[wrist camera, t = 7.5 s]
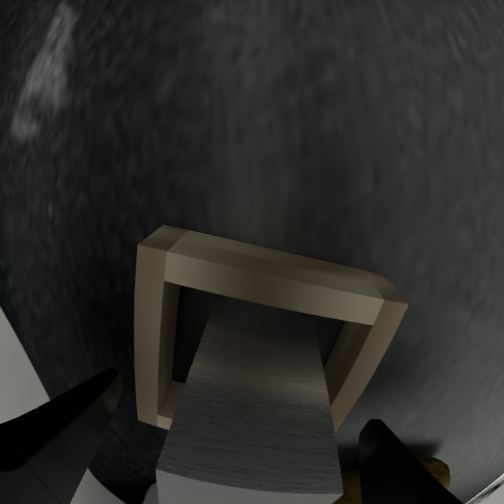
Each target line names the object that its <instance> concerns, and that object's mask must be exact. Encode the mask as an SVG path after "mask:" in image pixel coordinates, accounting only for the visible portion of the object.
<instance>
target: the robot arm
mask: <svg viewBox="0 0 504 504" xmlns="http://www.w3.org/2000/svg"><path fill="white" fill-rule="evenodd" d="M121 392H122V377H121V372H120V371H118V370H116V369H113V368H108V369H106V370H105V371H103V372H101V373H99V374H98V375H96V376H94V377H92V378H90V379H89V380H87V381H85V382H83V383H81V384H80V385H78V386H76V387H74V388H72V389H70V390H69V391H67V392H65V393H63V394H61V395H59V396H58V397H56V398H54V399H52V400H50V401H48V402H47V403H45V404H43V405H41V406H39V407H37V409H36V408H35V409H34V410H32V411H29V412H28V413H25V414H23V415H21V416H19V417H17V418H15V419H12V420H10V421H7V422H4V423H2V424H0V504H70V503H71V500H72V498H73V496H74V494H75V492H76V490H77V488H78V486H79V484H80V482H81V480H82V477H83V476H84V474H85V472H86V470H87V467H88V465H89V463H90V462H91V460H92V458H93V456H94V454H95V452H96V450H97V448H98V446H99V444H100V442H101V440H102V438H103V436H104V434H105V432H106V430H107V428H108V426H109V424H110V421H111V419H112V416H113V413H114V410H115V408H116V405H117V402H118V400H119V397H120V395H121ZM359 475H360V486H361V497H362V504H463V503H462V502H461V501H460V500H459V499H457V498H456V497H455V496H454V495H453V494H452V493H450V492H449V491H448V490H447V489H446V488H445V487H444V486H443V485H442V484H441V483H440V482H439V481H438V480H437V479H436V478H435V477H433V475H432V474H431V473H430V472H429V471H428V470H427V469H426V467H425V466H424V465H423V464H422V463H421V462H420V461H419V460H418V459H417V458H416V457H415V456H414V455H413V454H412V453H411V451H410V450H409V449H408V448H407V447H406V446H405V445H404V444H403V443H402V442H401V441H400V440H399V439H398V438H397V436H396V435H395V434H394V433H393V432H392V431H391V430H390V429H389V428H388V427H387V426H386V425H385V423H384V422H383V421H382V420H380V419H370V420H369V421H368V422H367V424H366V425H365V426H364V428H363V429H362V430H361V432H360V435H359Z"/></svg>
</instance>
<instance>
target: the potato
mask: <svg viewBox="0 0 504 504" xmlns="http://www.w3.org/2000/svg"><path fill="white" fill-rule="evenodd" d="M417 459H418V460H419V461H420V462H421V463H422V464H423V465H424V466H425V467H426V469H427V470H428V471H429V472H430V473H431V474H432V475H433V477H435V478H436V479H437V480H438V481H439V482H440V483H441V484H442V485H443V486H444V487H445V488H446V489H447V488H448V486H449V483H450V473H449V471H450V470H449V467H448V465H447V464H445V463H444V462H443V461H441V460H439V459H436V458H433V457H427V456H425V457H417ZM341 478H342V485H343V493H344V494H343V495H341V496H340V497H339V498H338V499H337V500H336V501H335V502H333V503H332V504H362V497H361V486H360V475H359V468H358V469H355V470H352V471H349V472H346V473H344V474H342V475H341Z"/></svg>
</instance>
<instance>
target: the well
mask: <svg viewBox="0 0 504 504" xmlns="http://www.w3.org/2000/svg"><path fill="white" fill-rule="evenodd" d="M181 285H183V286H187V287H191V288H195V289H199V290H203V291H207V292H211V293H216V294H220V295H224V296H229V297H233V298H237V299H242V300H246V301H251V302H255V303H260V304H264V305H269V306H274V307H278V308H283V309H288V310H293V311H298V312H303V313H308V314H313V315H318V316H323V317H329V318H334V319H340V320H345V321H344V324H343V326H342V328H341V331H340V333H339V335H338V338H337V340H336V342H335V345H334V347H333V349H332V351H331V353H330V356H329V358H328V360H327V362H326V364H325V366H324V375H325V380H326V385H327V391H328V396H329V402H330V408H331V413H332V419H333V425H334V431H335V433H336V432H337V431H338V429H339V428H340V426H341V425H342V423H343V422H344V420H345V419H346V417H347V416H348V414H349V413H350V411H351V410H352V408H353V407H354V405H355V404H356V402H357V400H358V399H359V397H360V396H361V394H362V392H363V391H364V389H365V387H366V386H367V384H368V382H369V381H370V379H371V377H372V376H373V374H374V372H375V370H376V368H377V367H378V365H379V363H380V361H381V359H382V358H383V356H384V354H385V352H386V350H387V348H388V346H389V344H390V342H391V340H392V339H393V337H394V335H395V333H396V330H397V328H398V326H399V324H400V322H401V320H402V318H403V316H404V314H405V312H406V309H407V307H408V305H409V304H408V303H407V302H406V301H405V299H404V298H403V297H402V295H401V294H400V293H399V292H398V290H397V289H396V288H395V286H394V285H393V284H392V283H391V281H390V280H389V279H388V278H387V276H386V275H383V274H378V273H374V272H370V271H366V270H361V269H357V268H353V267H349V266H344V265H340V264H336V263H331V262H327V261H323V260H318V259H314V258H310V257H305V256H301V255H297V254H292V253H288V252H284V251H279V250H275V249H271V248H266V247H262V246H257V245H253V244H249V243H244V242H240V241H235V240H231V239H227V238H222V237H218V236H213V235H209V234H204V233H200V232H195V231H191V230H186V229H182V228H177V227H173V226H168V225H163V226H162V227H160V228H159V229H158V230H156V231H155V232H154V233H152V234H151V235H150V236H148V237H147V238H146V239H144V240H143V241H142V242H140V243H139V244H138V248H137V262H136V279H135V305H134V359H135V385H136V401H137V414H138V420H139V421H142V422H145V423H148V424H151V425H154V426H158V427H161V428H164V429H168V430H169V429H170V426H171V423H172V420H173V417H174V414H175V411H176V408H177V406H178V403H179V400H180V397H181V394H182V391H183V388H184V386H185V384H184V383H180V382H177V381H173V380H172V367H173V355H174V344H175V333H176V323H177V314H178V305H179V296H180V288H181Z"/></svg>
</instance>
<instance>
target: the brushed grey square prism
mask: <svg viewBox="0 0 504 504" xmlns="http://www.w3.org/2000/svg"><path fill="white" fill-rule="evenodd" d="M156 477H157V488H158V497H159V504H332V503H333V502H335V501H336V500H337V499H338V498H339V497H340V496H341V495H343V494H344V493H343V485H342V478H341V471H340V464H339V457H338V450H337V444H336V438H335V431H334V425H333V419H332V413H331V408H330V402H329V396H328V391H327V385H326V380H325V375H324V369H323V364H322V359H321V354H320V349H319V344H318V339H317V334H316V330H315V325H314V320H313V315H311V314H306V313H301V312H295V311H290V310H285V309H280V308H276V307H271V306H266V305H261V304H256V303H252V302H247V301H243V300H238V299H234V298H229V297H225V296H220V295H217V297H216V300H215V302H214V305H213V308H212V311H211V313H210V316H209V319H208V322H207V324H206V327H205V330H204V333H203V335H202V338H201V341H200V344H199V346H198V349H197V352H196V355H195V358H194V360H193V363H192V366H191V369H190V372H189V374H188V377H187V380H186V383H185V386H184V388H183V391H182V394H181V397H180V400H179V403H178V406H177V408H176V411H175V414H174V417H173V420H172V423H171V426H170V429H169V432H168V435H167V437H166V440H165V443H164V446H163V449H162V452H161V455H160V458H159V461H158V464H157V467H156Z"/></svg>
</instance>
